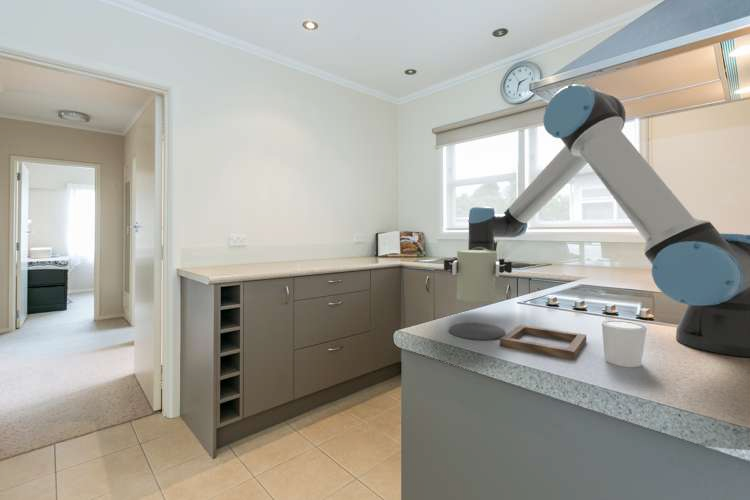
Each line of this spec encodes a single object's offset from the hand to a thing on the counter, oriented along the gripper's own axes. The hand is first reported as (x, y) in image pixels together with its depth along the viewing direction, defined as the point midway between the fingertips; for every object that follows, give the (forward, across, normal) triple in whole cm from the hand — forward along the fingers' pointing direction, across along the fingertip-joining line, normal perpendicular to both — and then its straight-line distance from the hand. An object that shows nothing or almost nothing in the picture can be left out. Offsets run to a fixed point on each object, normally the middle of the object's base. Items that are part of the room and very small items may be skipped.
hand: (475, 269), depth 83 cm
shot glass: (+8, -27, -16) cm, 32 cm away
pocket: (+1, -14, -15) cm, 21 cm away
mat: (-4, 0, -16) cm, 16 cm away
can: (-5, 0, -8) cm, 9 cm away
